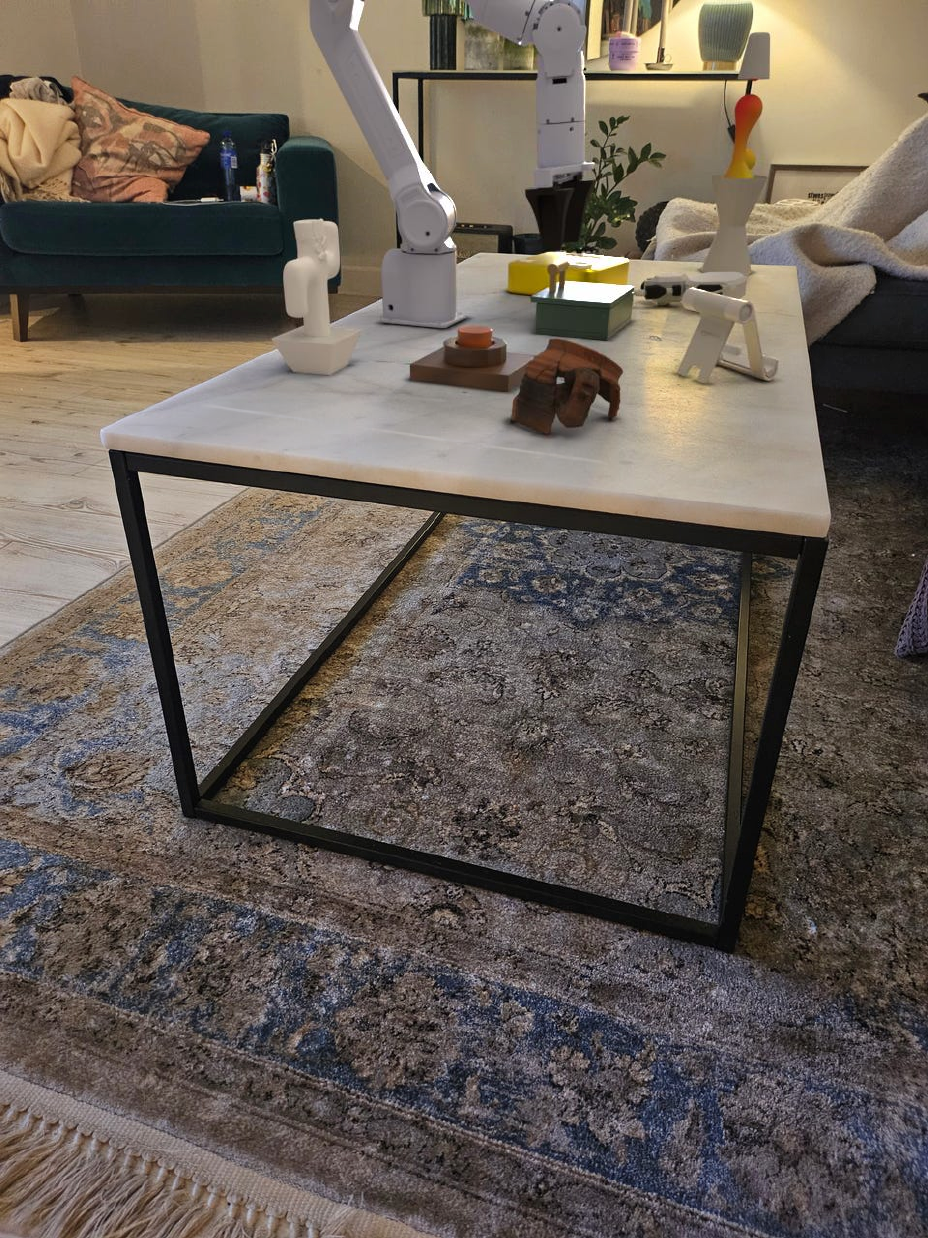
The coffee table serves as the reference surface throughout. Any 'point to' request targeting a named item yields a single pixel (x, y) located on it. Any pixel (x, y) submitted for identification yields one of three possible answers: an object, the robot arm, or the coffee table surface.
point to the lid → (579, 290)
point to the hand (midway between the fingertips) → (561, 246)
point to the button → (474, 336)
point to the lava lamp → (740, 171)
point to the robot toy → (692, 285)
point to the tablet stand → (723, 337)
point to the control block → (472, 366)
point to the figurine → (314, 303)
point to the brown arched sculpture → (565, 386)
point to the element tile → (582, 268)
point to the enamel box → (583, 319)
